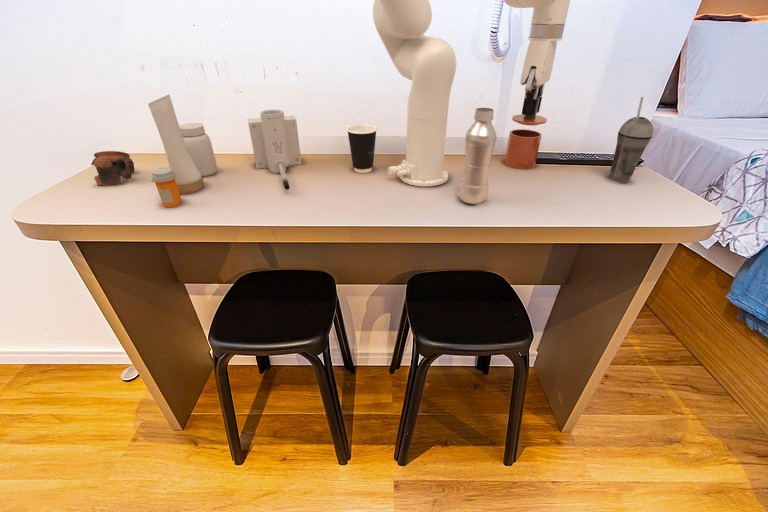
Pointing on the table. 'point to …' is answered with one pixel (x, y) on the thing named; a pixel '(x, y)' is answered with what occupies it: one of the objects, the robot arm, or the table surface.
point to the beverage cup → (630, 147)
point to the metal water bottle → (478, 157)
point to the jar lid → (530, 118)
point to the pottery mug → (112, 167)
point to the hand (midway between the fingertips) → (530, 112)
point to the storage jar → (522, 148)
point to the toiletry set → (180, 154)
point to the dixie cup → (362, 146)
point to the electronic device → (275, 142)
